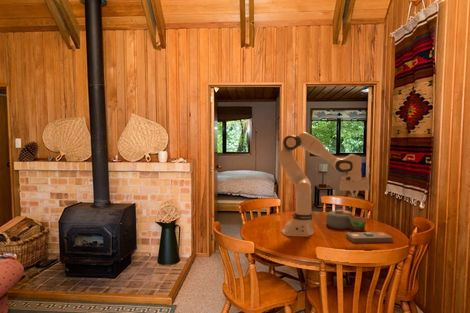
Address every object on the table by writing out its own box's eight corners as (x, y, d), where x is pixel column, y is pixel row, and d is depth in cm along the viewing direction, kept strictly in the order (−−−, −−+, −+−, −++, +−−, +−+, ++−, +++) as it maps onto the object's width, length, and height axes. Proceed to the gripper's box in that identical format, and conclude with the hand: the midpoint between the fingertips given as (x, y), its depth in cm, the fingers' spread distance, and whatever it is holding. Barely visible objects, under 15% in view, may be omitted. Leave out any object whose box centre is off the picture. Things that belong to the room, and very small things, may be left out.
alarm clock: (358, 226, 226) (358, 211, 225) (339, 230, 217) (339, 214, 216) (339, 221, 243) (339, 206, 242) (321, 224, 234) (321, 209, 234)
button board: (353, 242, 190) (353, 238, 190) (345, 237, 202) (345, 232, 202) (392, 241, 191) (392, 237, 191) (382, 236, 203) (382, 231, 203)
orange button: (380, 238, 195) (380, 235, 194) (377, 236, 199) (377, 233, 198) (386, 238, 195) (386, 235, 195) (383, 236, 199) (383, 233, 199)
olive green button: (367, 237, 194) (367, 234, 194) (364, 235, 198) (364, 232, 198) (373, 236, 194) (373, 234, 194) (370, 235, 198) (370, 232, 198)
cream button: (353, 238, 194) (353, 236, 194) (351, 237, 198) (351, 234, 198) (359, 238, 194) (359, 235, 194) (356, 236, 198) (356, 234, 198)
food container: (348, 230, 216) (348, 217, 215) (348, 228, 222) (348, 215, 221) (367, 232, 211) (367, 218, 211) (366, 230, 217) (366, 216, 217)
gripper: (367, 176, 210) (366, 195, 211) (338, 176, 210) (338, 196, 210) (371, 177, 204) (371, 197, 205) (342, 177, 203) (342, 197, 204)
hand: (354, 196), depth 207 cm, fingers closed
